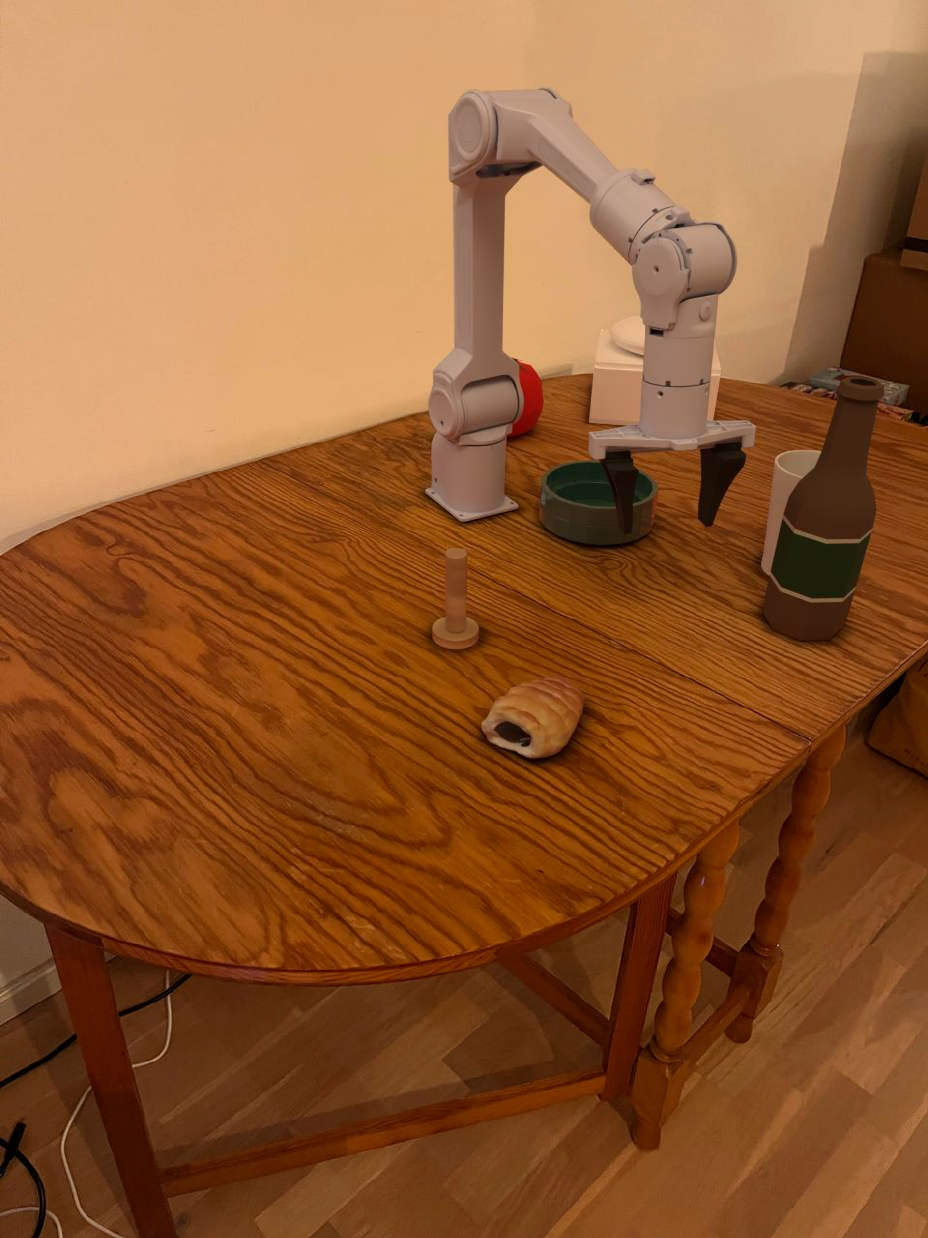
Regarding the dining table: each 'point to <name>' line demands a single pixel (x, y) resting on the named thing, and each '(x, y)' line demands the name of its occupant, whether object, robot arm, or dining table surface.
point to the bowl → (592, 504)
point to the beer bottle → (827, 524)
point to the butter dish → (628, 374)
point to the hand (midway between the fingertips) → (665, 526)
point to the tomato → (528, 399)
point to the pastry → (535, 717)
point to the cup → (784, 494)
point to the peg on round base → (455, 606)
